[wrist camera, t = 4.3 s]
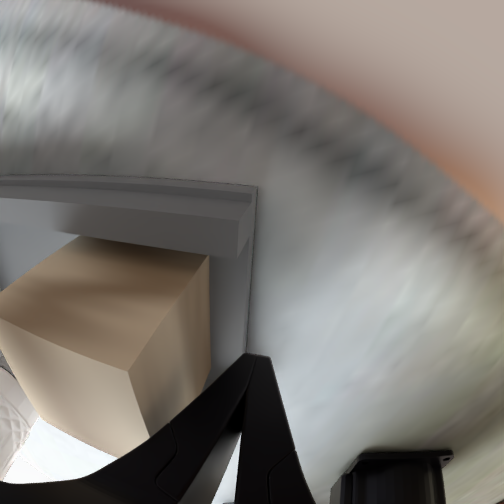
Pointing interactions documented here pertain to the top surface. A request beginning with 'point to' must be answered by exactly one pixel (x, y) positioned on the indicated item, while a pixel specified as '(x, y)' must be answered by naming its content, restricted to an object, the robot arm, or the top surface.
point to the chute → (140, 234)
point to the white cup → (13, 420)
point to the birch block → (109, 338)
